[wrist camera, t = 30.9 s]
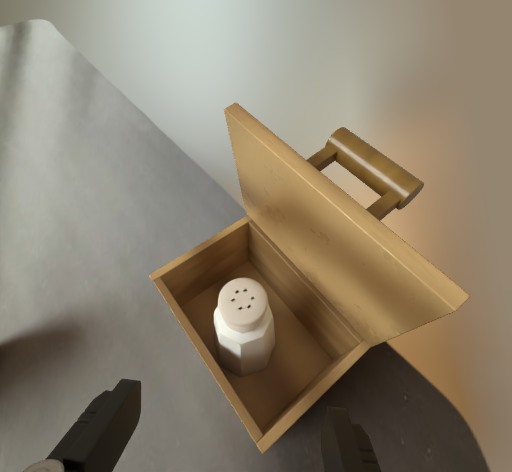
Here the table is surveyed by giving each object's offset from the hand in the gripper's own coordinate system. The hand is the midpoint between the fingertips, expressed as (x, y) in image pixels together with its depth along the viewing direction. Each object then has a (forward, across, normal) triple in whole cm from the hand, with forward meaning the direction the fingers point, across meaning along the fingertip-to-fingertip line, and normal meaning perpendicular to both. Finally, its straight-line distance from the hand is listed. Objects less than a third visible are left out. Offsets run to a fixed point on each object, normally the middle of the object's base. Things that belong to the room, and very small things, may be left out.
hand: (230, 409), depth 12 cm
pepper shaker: (+12, 0, +5) cm, 13 cm away
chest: (+13, 0, +4) cm, 14 cm away
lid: (+6, -3, -6) cm, 9 cm away
